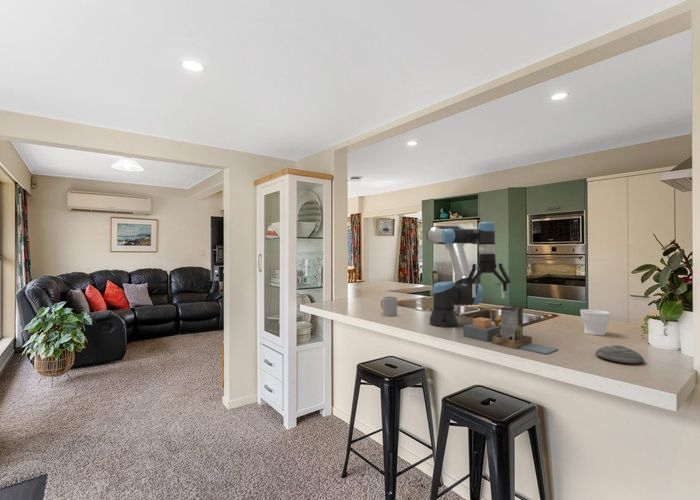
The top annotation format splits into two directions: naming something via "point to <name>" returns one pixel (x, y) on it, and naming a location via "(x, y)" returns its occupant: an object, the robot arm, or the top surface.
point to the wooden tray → (511, 341)
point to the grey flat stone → (619, 354)
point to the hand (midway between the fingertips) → (488, 297)
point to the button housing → (481, 332)
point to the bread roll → (498, 321)
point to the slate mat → (538, 348)
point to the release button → (482, 322)
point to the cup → (595, 321)
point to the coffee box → (512, 323)
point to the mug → (389, 306)
